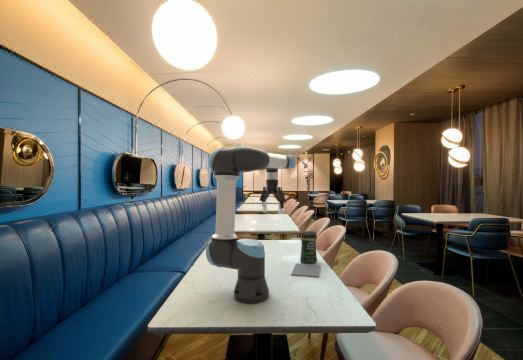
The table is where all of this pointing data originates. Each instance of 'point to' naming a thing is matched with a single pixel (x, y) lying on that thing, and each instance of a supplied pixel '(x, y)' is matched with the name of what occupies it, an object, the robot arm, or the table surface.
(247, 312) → the table surface
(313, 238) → the coffee jar
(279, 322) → the table surface
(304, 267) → the mat
